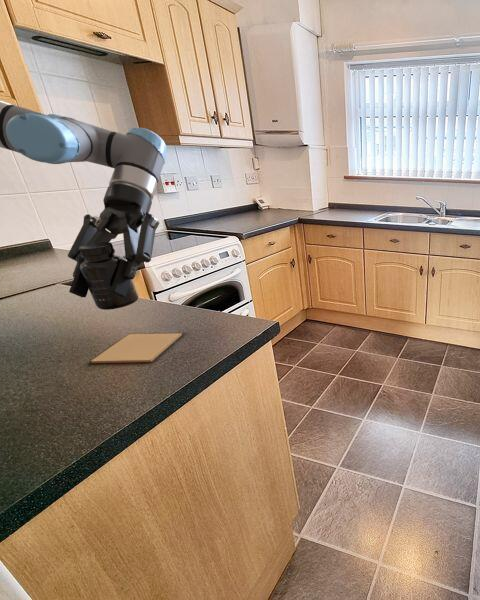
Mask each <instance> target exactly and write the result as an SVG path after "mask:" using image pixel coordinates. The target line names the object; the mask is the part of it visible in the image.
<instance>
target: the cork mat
mask: <svg viewBox="0 0 480 600" xmlns="http://www.w3.org/2000/svg"><path fill="white" fill-rule="evenodd" d="M182 336H183V333H180V332H177V333H129V334H127V335H125V336H124V337H123V338H121V339H120V340H119V341H117V342H116V343H114V344H113V345H112V346H110V347H109V348H107V349H106V350H105V351H103V352H101V353H100V354H99V355H97V356H96V357H94V358H93V359H91V360H90V363H91V364H112V363H115V364H117V363H120V364H121V363H152V362H153V361H154V360H156V359H157V358H158V357H159V356H161V354H162V353H164V351H166V350H167V349H168V348H169V347H170V346H172V344H174V343H175V342H176V341H177V340H178V339H179V338H180V337H182Z"/></svg>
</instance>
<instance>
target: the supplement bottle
mask: <svg viewBox="0 0 480 600" xmlns="http://www.w3.org/2000/svg"><path fill="white" fill-rule="evenodd" d="M79 250H80V252H81V256H82V258H85V260H84V261H83V262H82V263H81V265H80V270H81V272H82V275H83V277H84V279H85V282H86V284H87V286H88V288H89V290H88V292H89V293H90V296H91V297H92V300H93V302H94V304H95V306H96V307H97V308H98V309H99V310H104V311H106V310H107V311H109V310H118V309H122V308H124V307H129V306H131V305H133V304H135V303H136V302H137V301H138V300H139V294H138V291H137V288H136V286H135V282H134V279H131V281H130V284H129V287H128V291H127V294H126V297H121V296H119V295H117V294H115V293H113V292H111V288H112V285H113V282H114V279H115V276H116V272H117V269H118V266H119V263H120V260H125V258H123V256H120V255H117V254H116V249H114V246H113V243H112V242H111V241H110V242H100V243H93V244H88V245H84V246H81V247H79Z"/></svg>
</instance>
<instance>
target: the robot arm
mask: <svg viewBox="0 0 480 600" xmlns="http://www.w3.org/2000/svg"><path fill="white" fill-rule="evenodd" d="M0 148H1V149H6V150H9V151H12V152H16V153H18V154H21V155H22V156H24V157H25V158H27V159H29V160H32V161H35V162H39V163H46V164H51V165H61V164H66V163H83V162H87V163H92V164H96V165H99V166H104V167H107V168H108V167H109V168H111V169H114V170H113V172H112V174H111V177H110V180H109V183H108V186H107V189H106V191H105V194H104V197H103V200H102V201H103V205H104V208H103V210H102V211H101V212H100V213H99V214H98V215H93V216H92V215H91V214H85V215H84V216H83V223H82V226H81V228H80V230H79V232H78V234H77V236H76V238H75V240H74V242H73V243H72V245H71V247H70V250H69V252H68V253H67V257H68V258H69V259H71V260H72V261H75V262H76V265H75V267H74V270H73V273H72V277H73V280H72V281H71V284H70V288H69V290H68V293H70V294H73V295H75V296H78V297H80V298H87V295H88V292H89V288H88V286H87V284H86V282H85V279H84V277H83V275H82V272H81V270H80V265H81V263H82V262H83V261H84V260H85V258H82V256H81V252H80V250H79V247H81V246H84V245H88V244H93V243H100V242H110V243H111V241H112V240H115V239H116V238H117V237H118V235H122V236H123V245H124V246H123V247H124V255H122V258H123V259H124V260H120V263H119V266H118V269H117V272H116V276H115V279H114V282H113V285H112V288H111V292H113V293H115V294H117V295H119V296H121V297H126V294H127V291H128V287H129V284H130V281H131V279H132V280H134V279H135V278H136V274H137V272H138V267H139V266H140V265H141V264H142V263H146V264H147V263H150V262H151V261H152V255H153V249H154V243H155V237H156V231H157V229H158V227H159V225H160V224H161V223H160V222H161V221H160V220H158V218H156V217H155V216H154V215H153V214H151V213H150V211H151V208H152V205H153V200H154V196H155V193H156V190H157V187H158V183H159V180H160V177H161V173H162V171H163V167H164V165H165V163H166V162H165V159H166V155H167V151H168V146H167V145H166V142H165V141H164V139H163V138H162V137H161V136H160V135H158V134H157V133H156V132H154V131H152V130H150V129H148V128H144V127H138V128H137V127H132V128H130V129H128V131H127V132H126V133H121V132H116V131H112V130H109V129H105V128H103V127H99V126H97V125H94V124H90V123H87V122H84V121H80V120H77V119H76V118H73V117H69V116H63V115H59V114H56V113H49V114H44V113H41V112H39V111H35V110H32V109H29V108H26V107H22V106H18V105H15V104H12V103H10V102H6V101H3V100H0ZM139 228H140V230H139Z"/></svg>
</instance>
